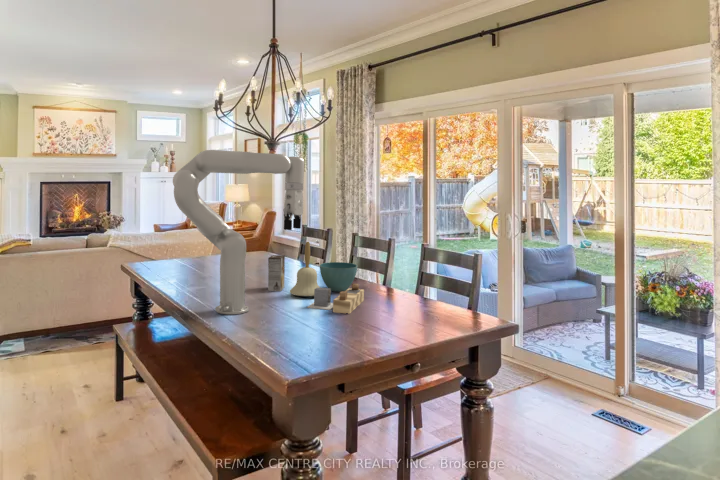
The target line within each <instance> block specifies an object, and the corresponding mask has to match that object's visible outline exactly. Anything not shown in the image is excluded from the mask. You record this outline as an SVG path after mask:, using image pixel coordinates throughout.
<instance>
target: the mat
mask: <svg viewBox="0 0 720 480" xmlns="http://www.w3.org/2000/svg"><path fill="white" fill-rule="evenodd" d="M306 308H307V309H315V310H326V311H328V310H329V311H331V310H333V302H331V305H329V306H328V307H323V306H314V302H313V303H311V304H310V305H308V306H307V307H306Z"/></svg>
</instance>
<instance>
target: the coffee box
mask: <svg viewBox="0 0 720 480" xmlns="http://www.w3.org/2000/svg"><path fill="white" fill-rule="evenodd" d="M285 259H286V257H285V255H284V254H283V255H281V254H279V255H277V254H275V255H274V254H272V255H270V256H269V257H268V262H267V264H268V265H267V266H268V267H267V271H268V272H267V273H268V275H267V276H268V277H267V282H268V286H267V291H268V292H282V291H283V290H284V288H285V267H286V266H285V265H286V264H285Z"/></svg>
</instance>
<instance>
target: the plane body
mask: <svg viewBox="0 0 720 480" xmlns="http://www.w3.org/2000/svg"><path fill="white" fill-rule="evenodd" d="M359 287H360V283H352V284H351V287H349V288H348V289H347V290H346V291H341V292H339V295H338V296H337V297H335V298H334V299H332V301H333V302H332V303H333V308H332V313H335V314H336V313H338V314H346V313H348V315H350V314H351V313H352V312H353V311H354V310H356V308H357V307H358V306H360V305H361V304H362V303H363V302H364V301H365V300H364V299H365V289H360V288H359Z"/></svg>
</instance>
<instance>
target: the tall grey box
mask: <svg viewBox="0 0 720 480" xmlns="http://www.w3.org/2000/svg"><path fill="white" fill-rule="evenodd" d="M319 287H320V286H319ZM319 287H317V288H316V289H314V296H313V303H314V306H323V307H328V306H329V305H331V303H332V301H331V298H332V297H331V296H332V291H331V288H328V287H320V288H319Z"/></svg>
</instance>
